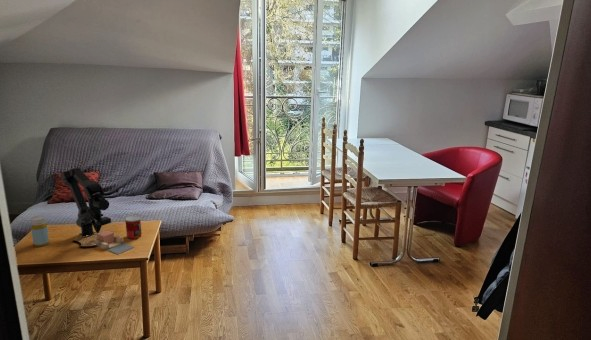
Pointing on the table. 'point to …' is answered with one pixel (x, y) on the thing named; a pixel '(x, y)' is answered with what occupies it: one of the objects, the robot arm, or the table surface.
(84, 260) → the table surface
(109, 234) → the block
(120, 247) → the mat
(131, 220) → the canned food
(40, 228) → the bottle
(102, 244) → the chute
